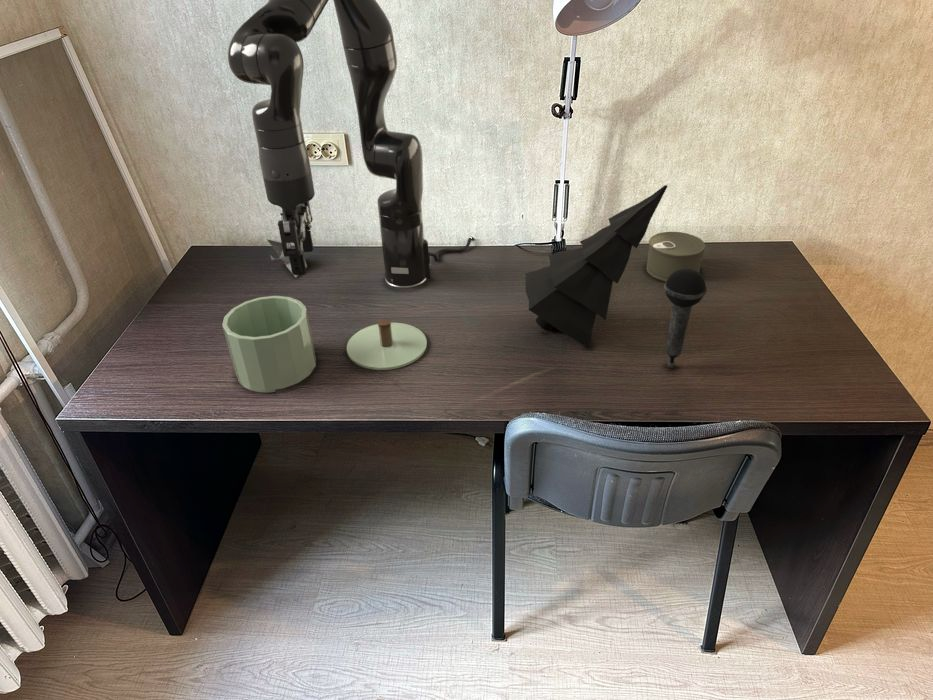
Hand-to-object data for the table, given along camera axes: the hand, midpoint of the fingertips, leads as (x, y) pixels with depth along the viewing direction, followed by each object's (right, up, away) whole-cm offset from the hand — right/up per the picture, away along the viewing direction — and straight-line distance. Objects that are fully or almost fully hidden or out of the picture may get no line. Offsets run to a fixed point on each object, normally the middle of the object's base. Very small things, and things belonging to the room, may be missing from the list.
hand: (303, 262), depth 115 cm
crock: (-7, -19, +10) cm, 22 cm away
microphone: (+65, -19, +7) cm, 68 cm away
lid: (+13, -14, +14) cm, 24 cm away
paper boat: (-14, +4, +44) cm, 46 cm away
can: (+75, +3, +38) cm, 84 cm away
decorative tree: (+52, -11, +19) cm, 56 cm away
